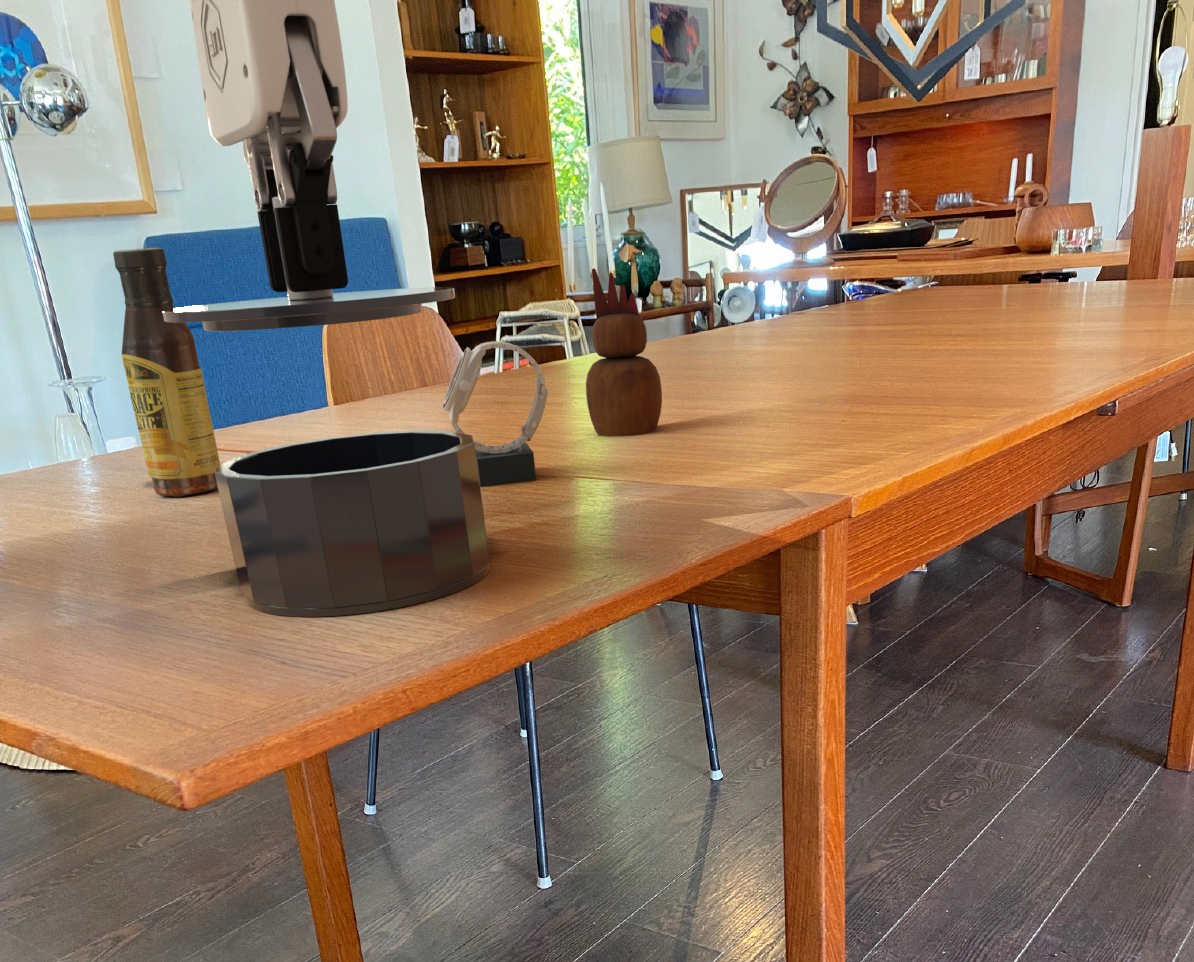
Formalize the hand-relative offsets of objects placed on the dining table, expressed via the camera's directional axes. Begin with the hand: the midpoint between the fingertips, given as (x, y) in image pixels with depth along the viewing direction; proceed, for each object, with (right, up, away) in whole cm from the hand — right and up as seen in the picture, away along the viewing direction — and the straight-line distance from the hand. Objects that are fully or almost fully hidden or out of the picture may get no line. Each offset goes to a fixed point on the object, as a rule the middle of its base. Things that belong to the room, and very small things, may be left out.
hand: (309, 286), depth 63 cm
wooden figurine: (+18, +5, +45) cm, 49 cm away
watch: (+8, -4, +29) cm, 30 cm away
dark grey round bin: (+2, -15, +7) cm, 16 cm away
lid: (0, -1, 0) cm, 1 cm away
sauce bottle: (-21, 0, +42) cm, 47 cm away
